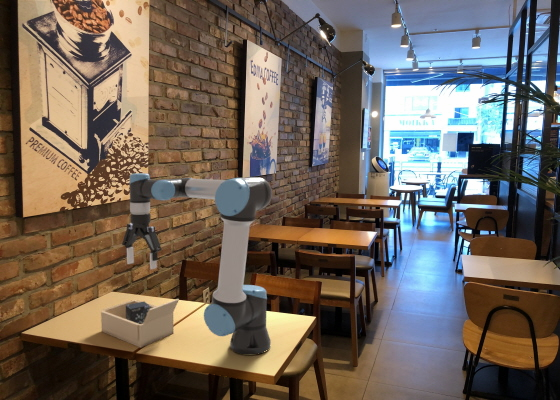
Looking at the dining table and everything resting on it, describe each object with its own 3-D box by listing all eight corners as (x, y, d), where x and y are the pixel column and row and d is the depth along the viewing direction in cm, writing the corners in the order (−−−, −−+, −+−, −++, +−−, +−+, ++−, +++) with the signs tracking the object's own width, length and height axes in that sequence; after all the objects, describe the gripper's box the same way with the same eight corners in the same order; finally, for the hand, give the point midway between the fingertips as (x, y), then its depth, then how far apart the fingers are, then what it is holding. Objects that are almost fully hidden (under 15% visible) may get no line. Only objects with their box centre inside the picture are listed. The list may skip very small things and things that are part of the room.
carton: (174, 332, 178) (174, 311, 177) (139, 348, 164) (138, 325, 163) (135, 318, 191) (134, 299, 190) (99, 331, 177) (98, 310, 176)
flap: (173, 312, 175) (179, 299, 172) (144, 323, 163) (150, 310, 161) (172, 311, 175) (178, 298, 172) (143, 322, 163) (149, 309, 161)
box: (130, 335, 172) (130, 308, 171) (125, 330, 177) (125, 304, 176) (150, 330, 177) (149, 304, 176) (144, 325, 182) (144, 300, 181)
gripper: (170, 214, 170) (171, 268, 172) (127, 209, 183) (129, 259, 185) (154, 216, 163) (155, 273, 166) (112, 211, 177) (113, 263, 179)
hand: (141, 266), depth 176 cm, fingers open, 13 cm apart
